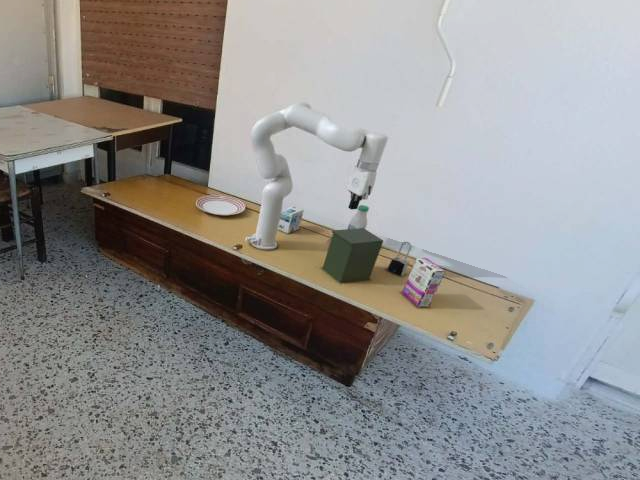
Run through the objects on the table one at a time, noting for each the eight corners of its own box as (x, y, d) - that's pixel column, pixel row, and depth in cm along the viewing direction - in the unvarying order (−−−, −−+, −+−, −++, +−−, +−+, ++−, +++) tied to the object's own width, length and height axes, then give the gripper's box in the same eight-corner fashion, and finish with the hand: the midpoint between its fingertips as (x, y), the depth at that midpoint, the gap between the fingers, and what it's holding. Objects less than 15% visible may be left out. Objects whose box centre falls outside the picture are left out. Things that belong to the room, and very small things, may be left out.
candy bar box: (429, 307, 179) (446, 271, 171) (417, 307, 179) (434, 271, 170) (412, 292, 189) (427, 257, 180) (401, 292, 188) (415, 257, 180)
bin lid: (351, 245, 184) (351, 243, 183) (331, 232, 194) (332, 230, 193) (383, 242, 187) (383, 240, 187) (362, 229, 197) (363, 227, 197)
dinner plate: (234, 223, 242) (235, 217, 240) (187, 211, 254) (188, 205, 252) (251, 207, 262) (252, 202, 260) (207, 197, 274) (207, 191, 272)
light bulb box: (287, 233, 233) (292, 214, 228) (276, 229, 238) (281, 210, 232) (299, 229, 239) (304, 209, 233) (288, 224, 243) (293, 205, 238)
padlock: (385, 270, 204) (397, 240, 196) (390, 267, 206) (402, 237, 199) (400, 276, 200) (413, 246, 192) (405, 274, 202) (418, 243, 194)
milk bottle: (358, 242, 228) (371, 205, 217) (360, 249, 221) (373, 210, 211) (342, 240, 230) (354, 202, 219) (343, 246, 223) (355, 208, 213)
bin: (340, 282, 193) (352, 245, 184) (322, 268, 203) (333, 232, 194) (369, 279, 197) (383, 242, 187) (350, 265, 207) (362, 229, 197)
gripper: (347, 159, 186) (333, 202, 196) (372, 171, 174) (356, 216, 184) (363, 159, 187) (348, 201, 197) (388, 171, 175) (372, 215, 185)
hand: (352, 208), depth 190 cm, fingers closed
